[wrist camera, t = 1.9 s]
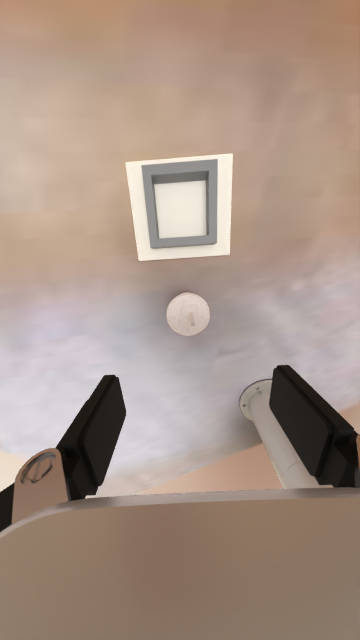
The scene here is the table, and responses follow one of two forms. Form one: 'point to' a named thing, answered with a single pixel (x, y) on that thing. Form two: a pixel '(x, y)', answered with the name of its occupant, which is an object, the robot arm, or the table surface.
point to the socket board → (181, 206)
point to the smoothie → (188, 314)
